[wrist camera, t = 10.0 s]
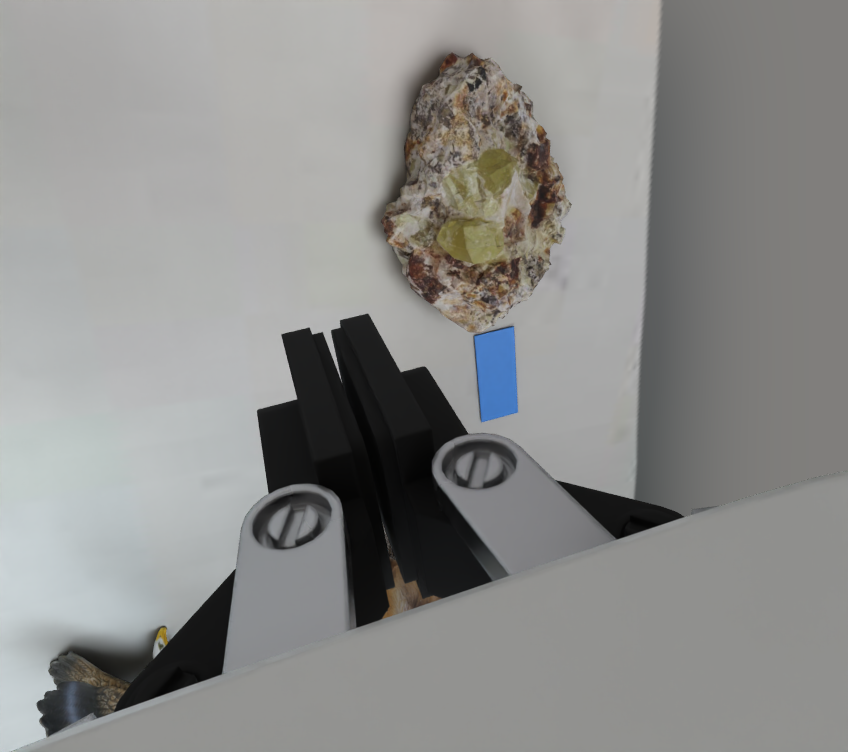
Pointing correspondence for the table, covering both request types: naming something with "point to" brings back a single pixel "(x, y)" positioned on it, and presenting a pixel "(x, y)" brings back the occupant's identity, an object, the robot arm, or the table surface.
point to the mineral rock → (476, 195)
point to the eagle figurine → (83, 690)
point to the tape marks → (496, 373)
